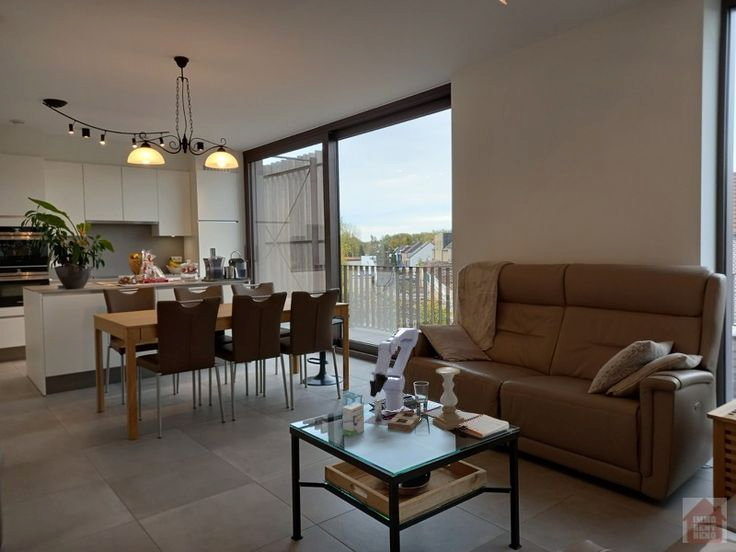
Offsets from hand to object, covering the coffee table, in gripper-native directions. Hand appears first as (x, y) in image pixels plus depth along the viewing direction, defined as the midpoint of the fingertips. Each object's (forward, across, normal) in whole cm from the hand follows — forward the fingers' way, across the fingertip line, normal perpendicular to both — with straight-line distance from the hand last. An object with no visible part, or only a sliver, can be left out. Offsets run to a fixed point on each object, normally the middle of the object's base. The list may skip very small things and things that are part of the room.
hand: (375, 394), depth 232 cm
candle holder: (+4, +7, +34) cm, 34 cm away
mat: (+8, -9, +6) cm, 13 cm away
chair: (+8, -16, -3) cm, 18 cm away
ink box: (+19, 0, -4) cm, 20 cm away
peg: (+8, -8, +6) cm, 13 cm away
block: (+8, 0, +16) cm, 18 cm away
